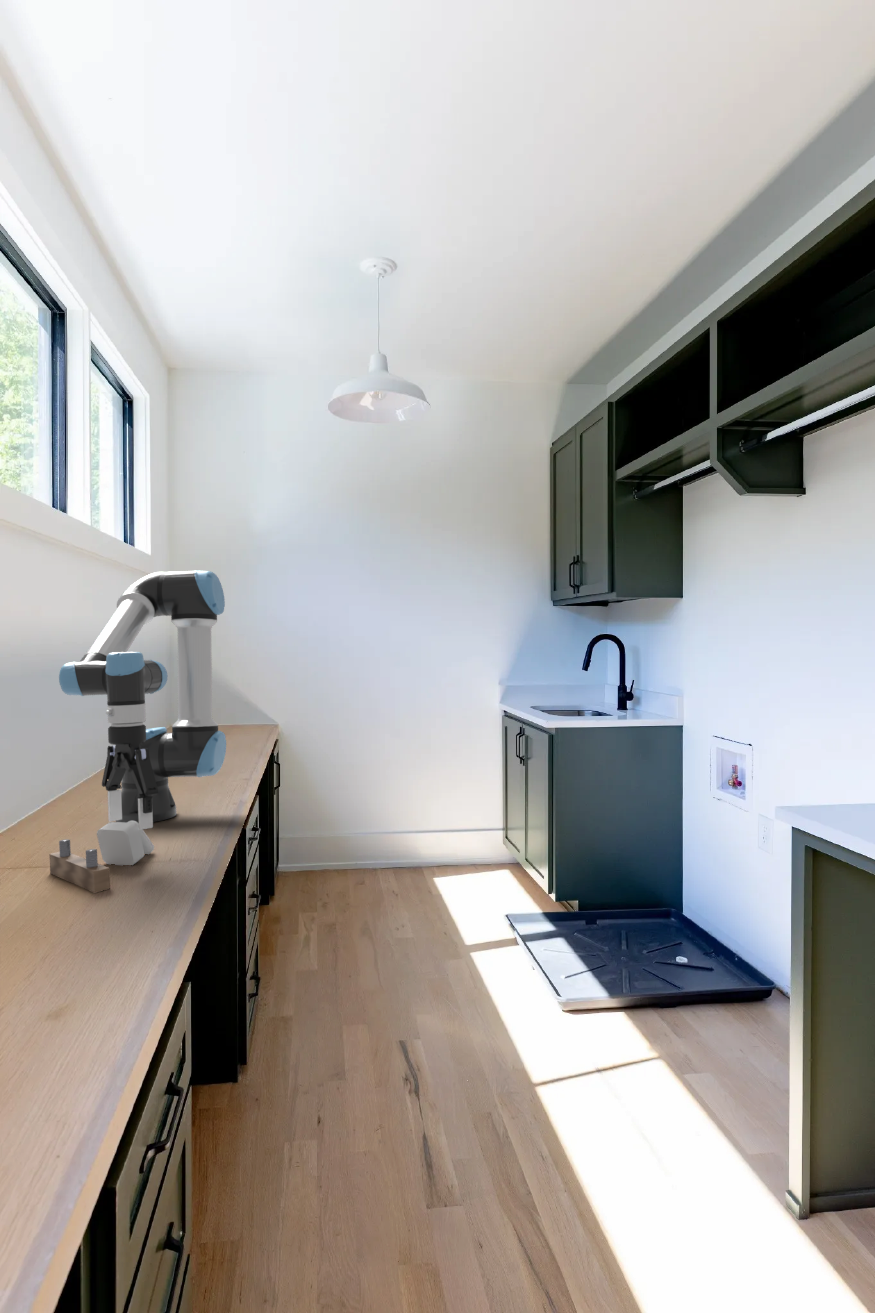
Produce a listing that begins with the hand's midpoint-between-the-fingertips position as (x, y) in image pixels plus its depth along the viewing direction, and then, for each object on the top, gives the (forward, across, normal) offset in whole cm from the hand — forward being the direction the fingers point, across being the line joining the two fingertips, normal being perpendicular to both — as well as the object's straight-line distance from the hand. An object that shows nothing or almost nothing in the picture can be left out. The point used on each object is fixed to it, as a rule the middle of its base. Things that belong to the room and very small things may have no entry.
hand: (130, 824), depth 173 cm
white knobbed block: (+8, 0, 0) cm, 8 cm away
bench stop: (+8, +6, -14) cm, 17 cm away
